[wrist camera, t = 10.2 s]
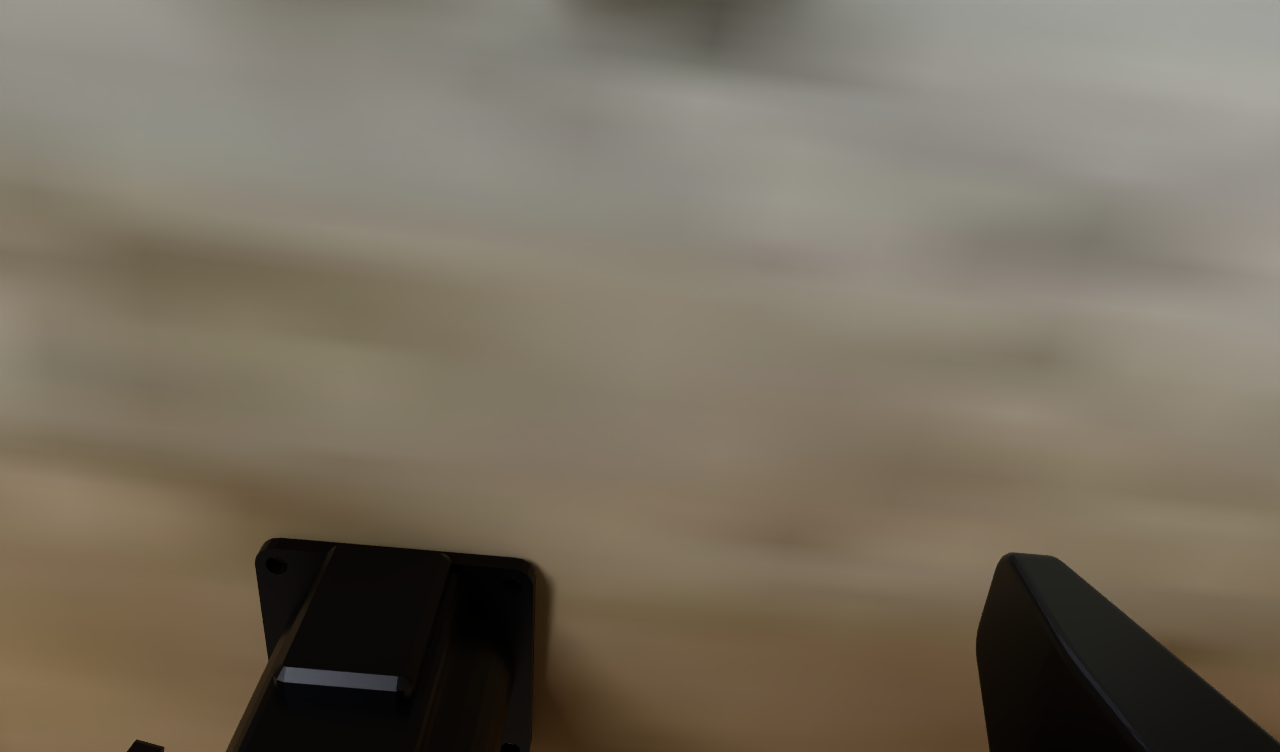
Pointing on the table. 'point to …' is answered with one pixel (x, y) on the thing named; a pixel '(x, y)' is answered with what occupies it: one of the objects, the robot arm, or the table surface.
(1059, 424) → the table surface
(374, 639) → the robot arm
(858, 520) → the table surface
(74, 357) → the table surface
